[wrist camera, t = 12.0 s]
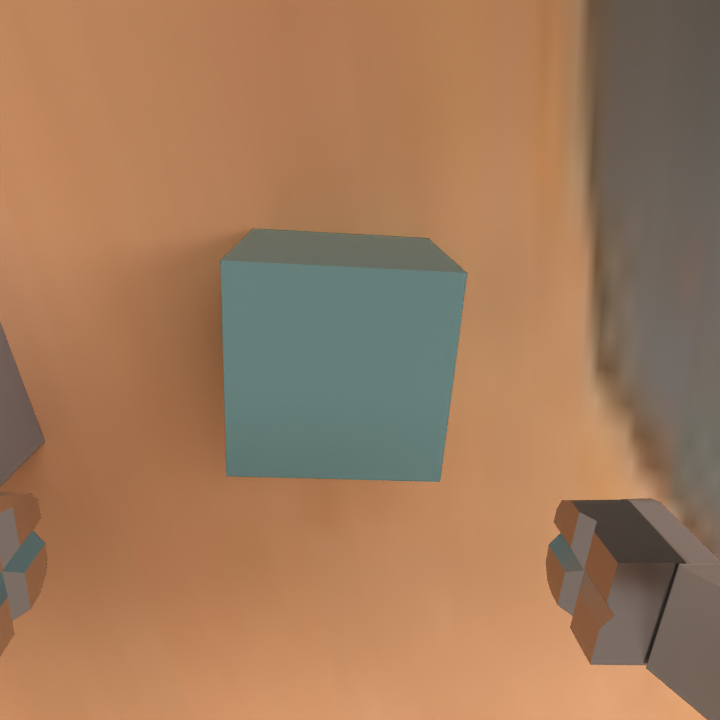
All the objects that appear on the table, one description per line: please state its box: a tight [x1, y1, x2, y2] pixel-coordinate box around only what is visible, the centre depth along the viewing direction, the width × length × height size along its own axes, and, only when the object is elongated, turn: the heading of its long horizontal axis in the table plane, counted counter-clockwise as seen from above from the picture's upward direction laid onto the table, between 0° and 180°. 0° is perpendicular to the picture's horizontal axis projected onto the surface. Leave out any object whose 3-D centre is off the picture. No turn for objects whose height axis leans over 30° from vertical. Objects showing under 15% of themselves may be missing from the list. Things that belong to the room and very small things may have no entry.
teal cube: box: [220, 229, 467, 482], centre depth 16 cm, size 6×6×6 cm
